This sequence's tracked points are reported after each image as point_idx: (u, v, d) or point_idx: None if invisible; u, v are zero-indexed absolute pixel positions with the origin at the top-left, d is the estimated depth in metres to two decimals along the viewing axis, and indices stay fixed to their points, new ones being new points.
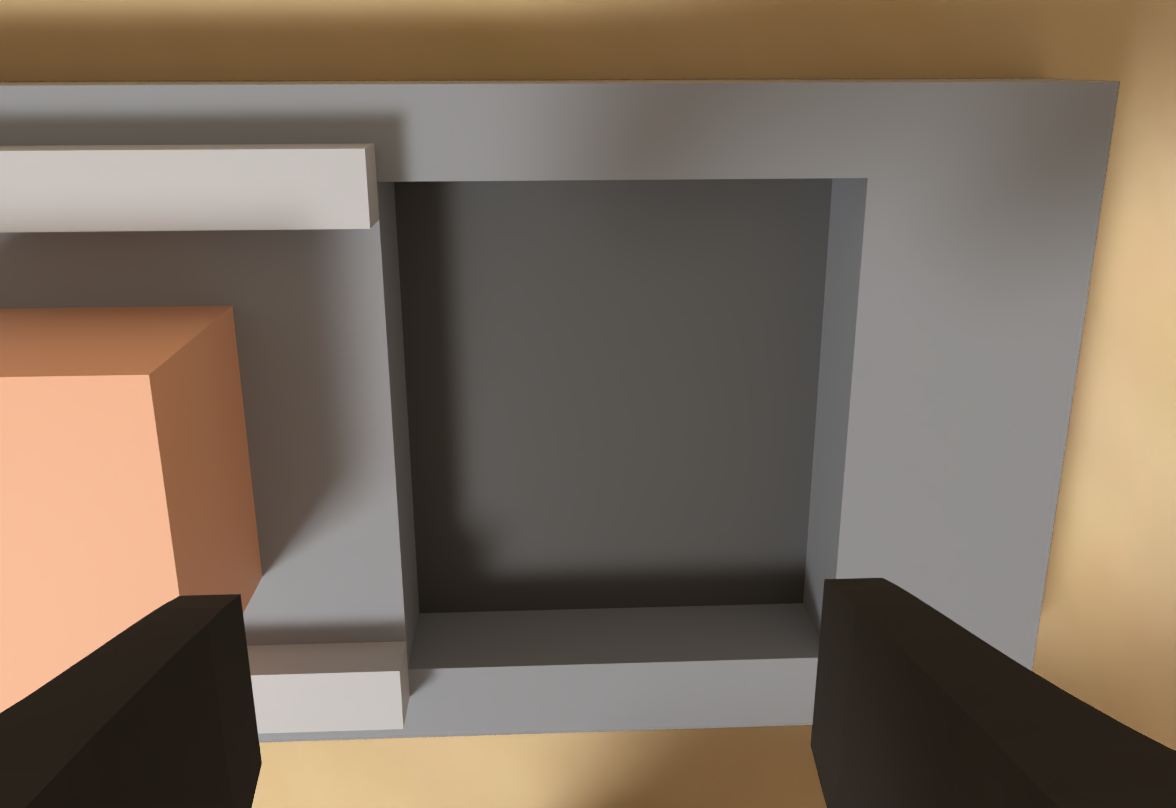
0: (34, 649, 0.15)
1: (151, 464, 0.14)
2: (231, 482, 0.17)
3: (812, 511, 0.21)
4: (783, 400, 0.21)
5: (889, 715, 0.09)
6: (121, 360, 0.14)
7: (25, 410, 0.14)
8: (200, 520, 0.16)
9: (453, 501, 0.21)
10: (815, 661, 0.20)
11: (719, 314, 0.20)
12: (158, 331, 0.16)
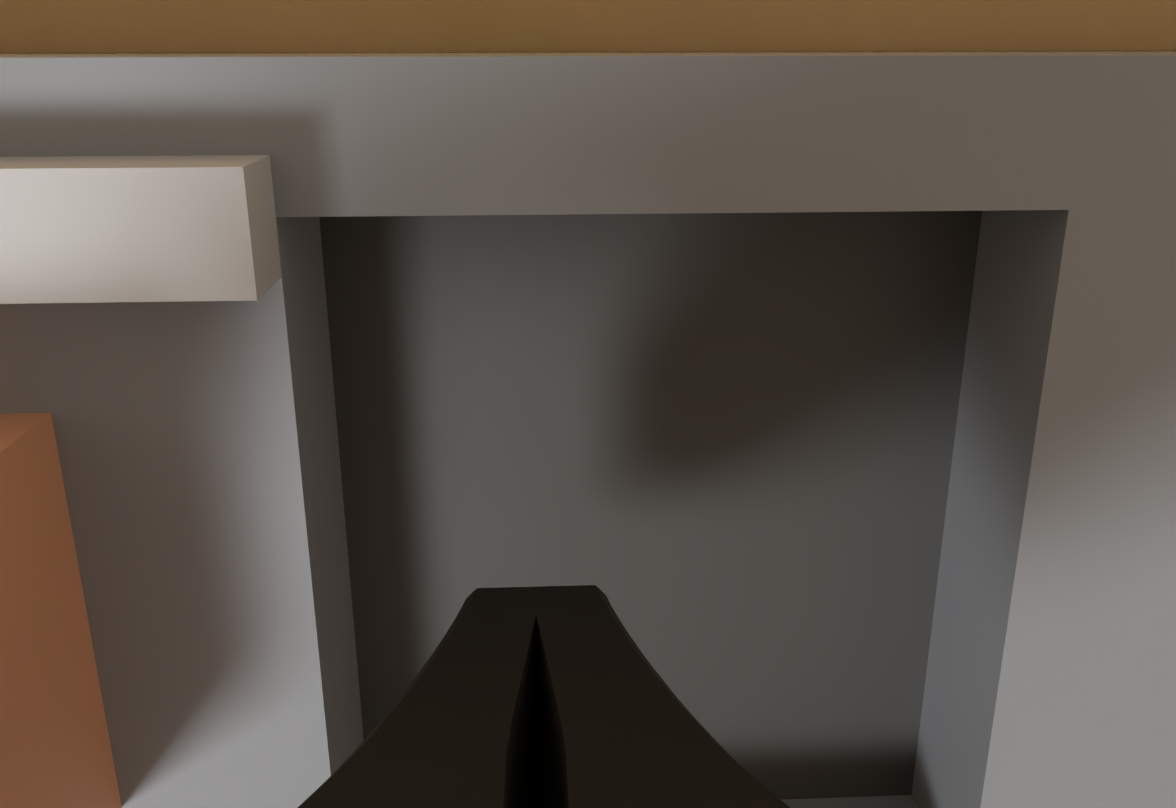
0: None
1: None
2: (47, 698, 0.11)
3: (932, 676, 0.15)
4: (896, 522, 0.14)
5: (546, 726, 0.09)
6: None
7: None
8: None
9: (416, 665, 0.15)
10: None
11: (807, 401, 0.14)
12: None
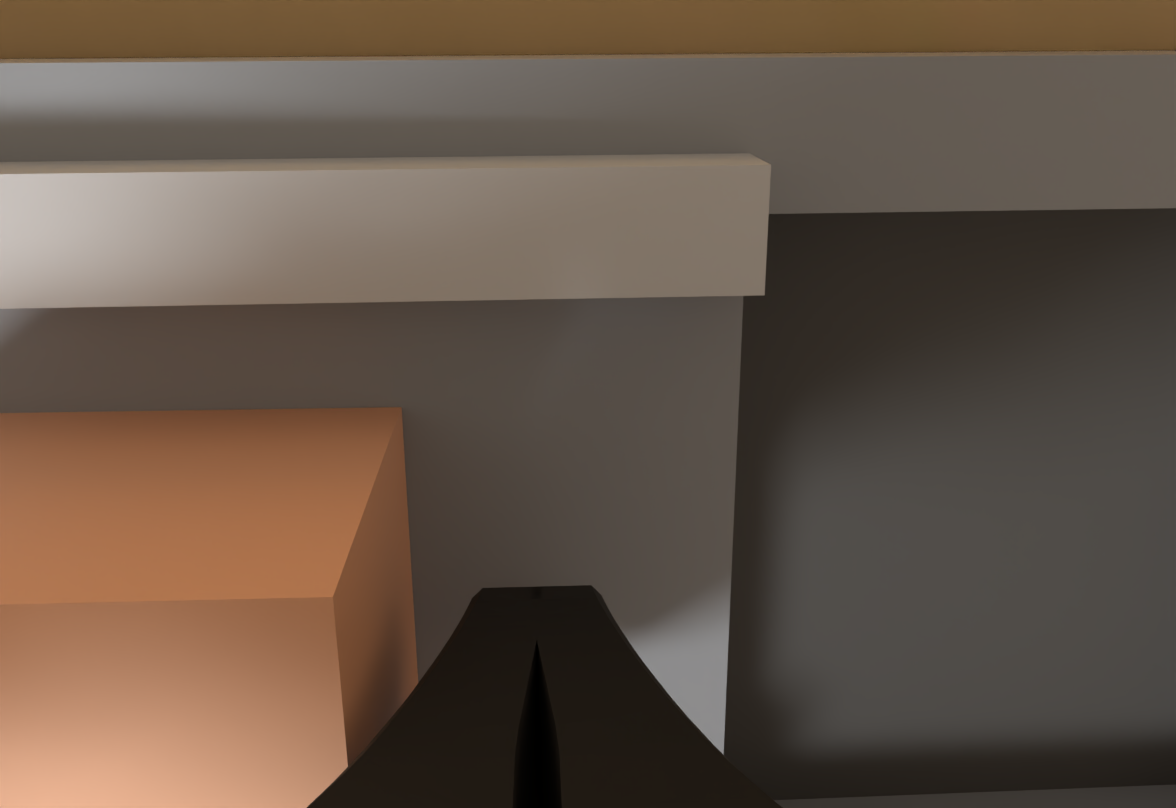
0: None
1: (328, 747, 0.08)
2: (403, 688, 0.11)
3: None
4: None
5: (541, 727, 0.09)
6: (268, 550, 0.08)
7: (104, 658, 0.07)
8: None
9: (755, 655, 0.15)
10: None
11: (1162, 394, 0.14)
12: (307, 470, 0.09)
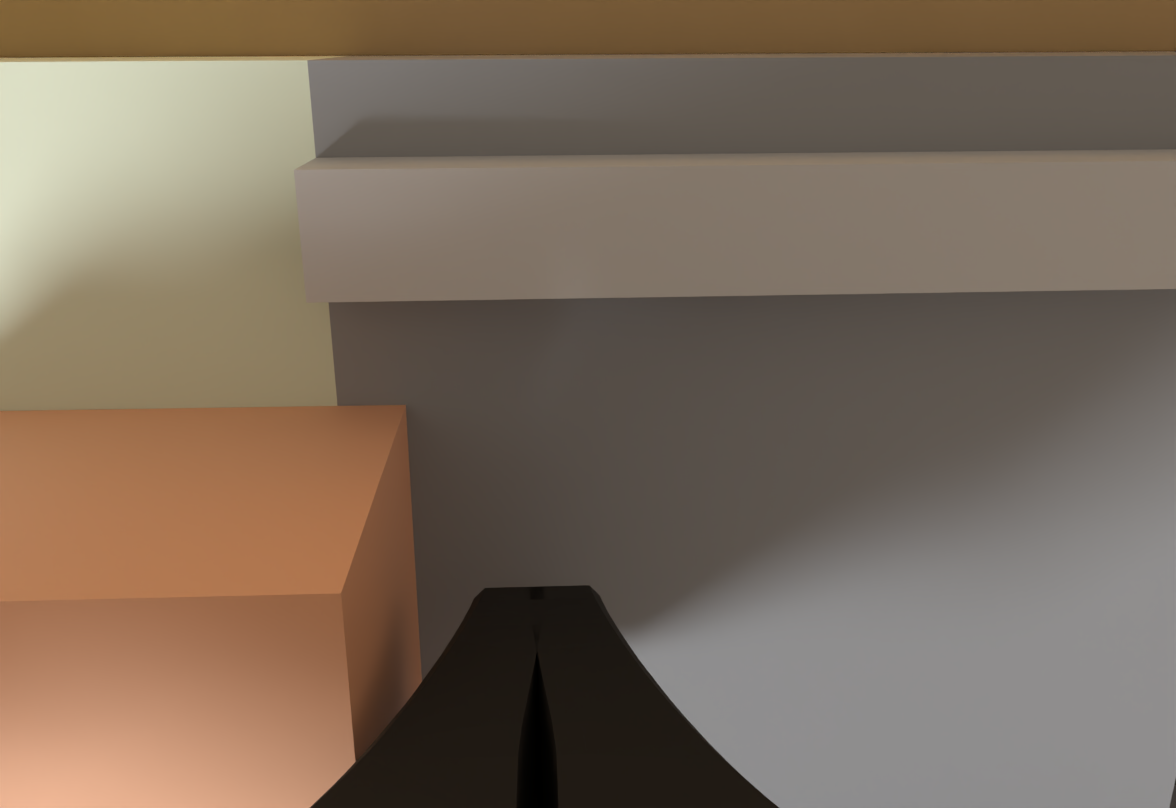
0: None
1: (336, 744, 0.08)
2: (408, 686, 0.11)
3: None
4: None
5: (538, 726, 0.09)
6: (275, 548, 0.08)
7: (113, 657, 0.07)
8: None
9: None
10: None
11: None
12: (312, 467, 0.10)
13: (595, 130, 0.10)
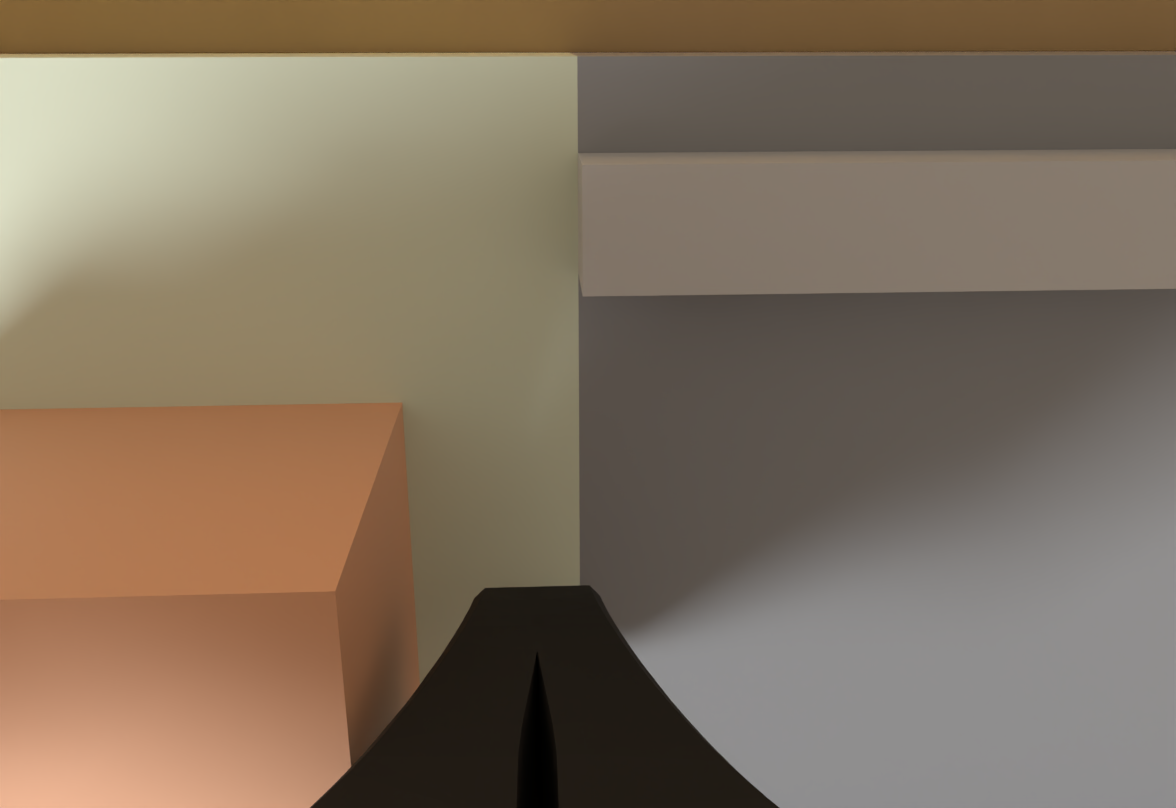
0: None
1: (331, 742, 0.08)
2: (405, 684, 0.11)
3: None
4: None
5: (539, 726, 0.09)
6: (270, 546, 0.08)
7: (105, 655, 0.07)
8: None
9: None
10: None
11: None
12: (308, 465, 0.09)
13: (854, 126, 0.10)
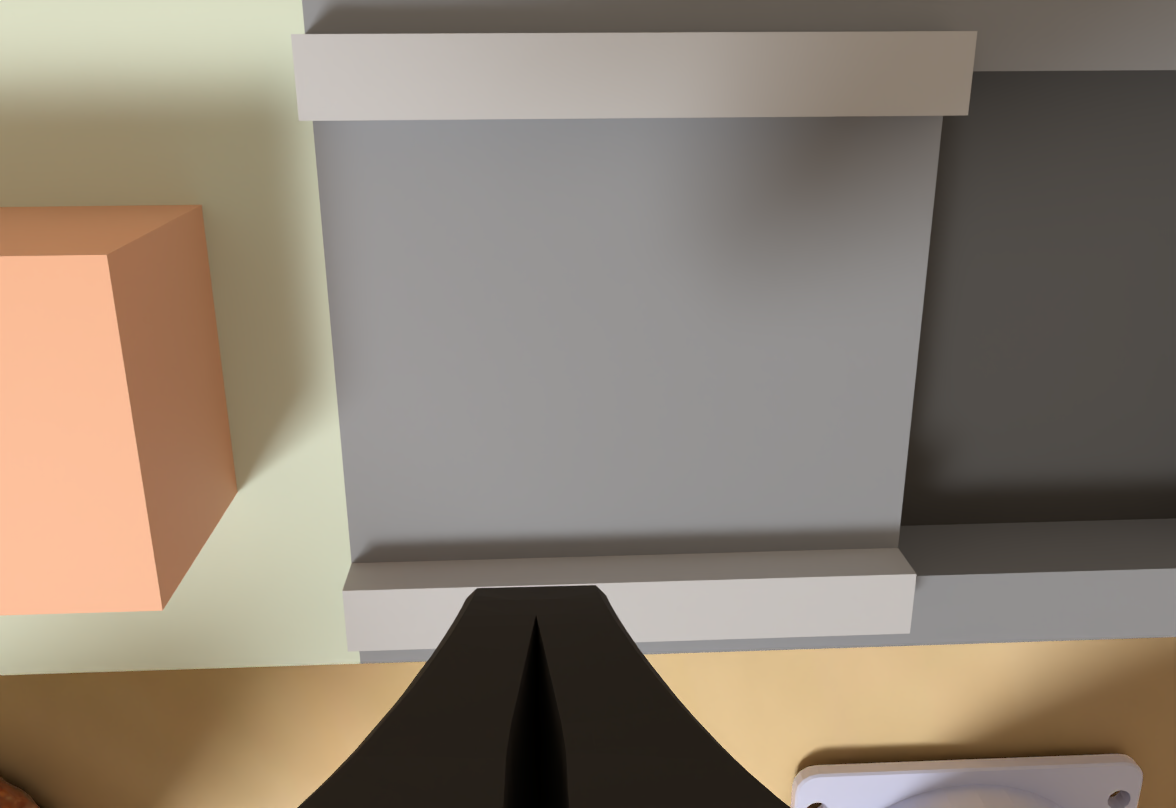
0: None
1: (111, 352, 0.13)
2: (202, 387, 0.17)
3: None
4: None
5: (547, 726, 0.09)
6: (79, 244, 0.14)
7: None
8: (167, 420, 0.15)
9: (912, 412, 0.21)
10: None
11: None
12: (121, 223, 0.15)
13: (484, 17, 0.16)
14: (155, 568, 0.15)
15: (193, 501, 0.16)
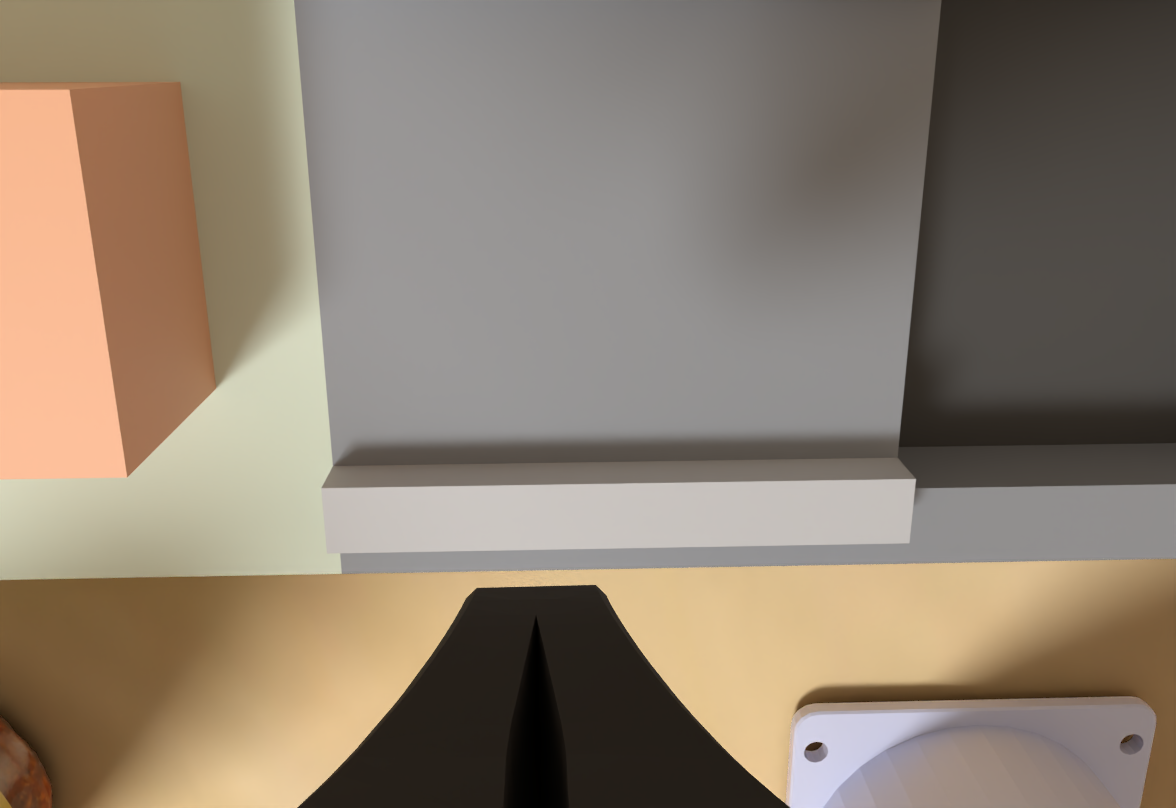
0: None
1: (74, 195, 0.13)
2: (177, 267, 0.16)
3: None
4: None
5: (547, 726, 0.09)
6: (44, 88, 0.13)
7: None
8: (136, 284, 0.15)
9: (913, 325, 0.20)
10: None
11: None
12: (93, 84, 0.15)
13: None
14: (120, 432, 0.14)
15: (165, 379, 0.16)
